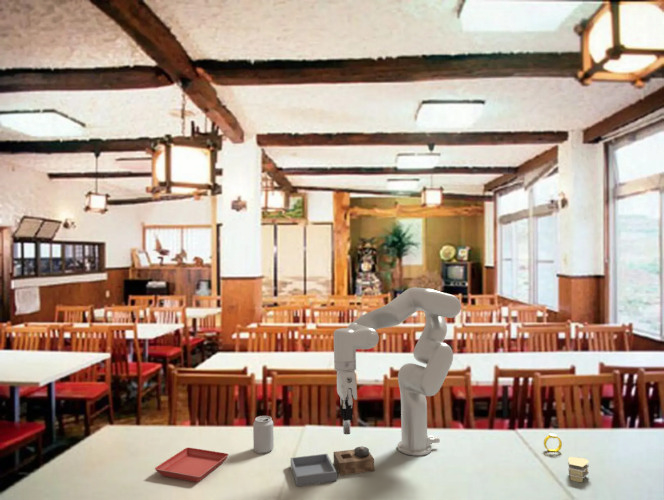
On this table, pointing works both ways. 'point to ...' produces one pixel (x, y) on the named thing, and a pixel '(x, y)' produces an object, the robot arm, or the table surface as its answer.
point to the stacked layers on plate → (578, 468)
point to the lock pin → (346, 425)
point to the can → (263, 434)
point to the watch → (553, 437)
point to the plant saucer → (191, 464)
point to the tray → (313, 469)
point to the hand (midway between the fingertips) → (346, 417)
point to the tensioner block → (353, 461)
